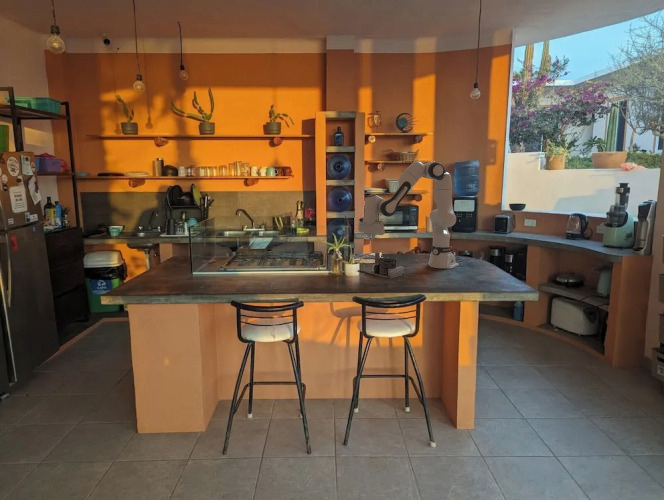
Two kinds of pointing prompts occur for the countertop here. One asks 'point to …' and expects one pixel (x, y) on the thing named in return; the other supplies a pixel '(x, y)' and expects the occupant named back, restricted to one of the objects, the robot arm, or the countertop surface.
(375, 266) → the sliding jaw
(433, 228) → the robot arm
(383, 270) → the small box
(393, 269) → the fixed jaw
